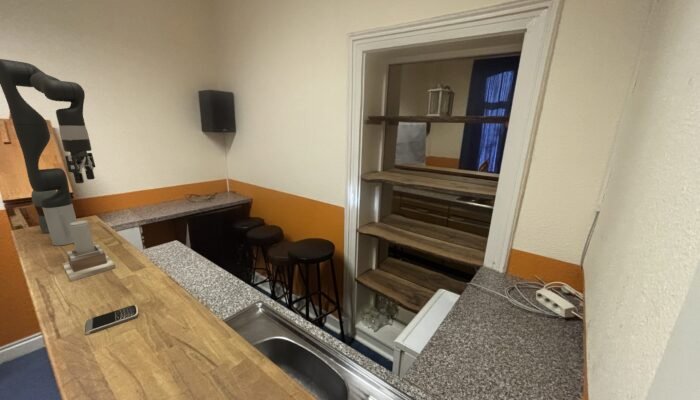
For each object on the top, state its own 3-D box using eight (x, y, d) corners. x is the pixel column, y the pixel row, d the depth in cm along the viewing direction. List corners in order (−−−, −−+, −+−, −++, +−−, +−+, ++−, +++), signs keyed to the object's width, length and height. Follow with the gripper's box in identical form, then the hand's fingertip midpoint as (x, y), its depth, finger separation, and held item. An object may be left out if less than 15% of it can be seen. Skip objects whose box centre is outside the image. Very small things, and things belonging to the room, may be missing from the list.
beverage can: (86, 256, 99) (78, 224, 96) (73, 256, 99) (65, 224, 96) (99, 250, 104) (91, 220, 101) (86, 250, 104) (78, 220, 101)
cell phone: (139, 318, 76) (138, 314, 75) (84, 337, 69) (83, 332, 68) (137, 307, 80) (136, 303, 80) (85, 324, 73) (84, 320, 73)
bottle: (35, 234, 135) (17, 173, 127) (51, 228, 143) (35, 170, 136) (58, 233, 136) (42, 172, 129) (72, 226, 145) (57, 169, 138)
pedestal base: (63, 267, 103) (58, 250, 101) (105, 255, 112) (101, 240, 110) (70, 281, 93) (65, 263, 91) (115, 267, 102) (111, 251, 101)
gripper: (72, 137, 108) (82, 178, 112) (50, 139, 96) (62, 185, 100) (96, 137, 111) (105, 177, 115) (78, 138, 98) (89, 183, 102)
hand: (85, 181), depth 107 cm, fingers open, 8 cm apart
